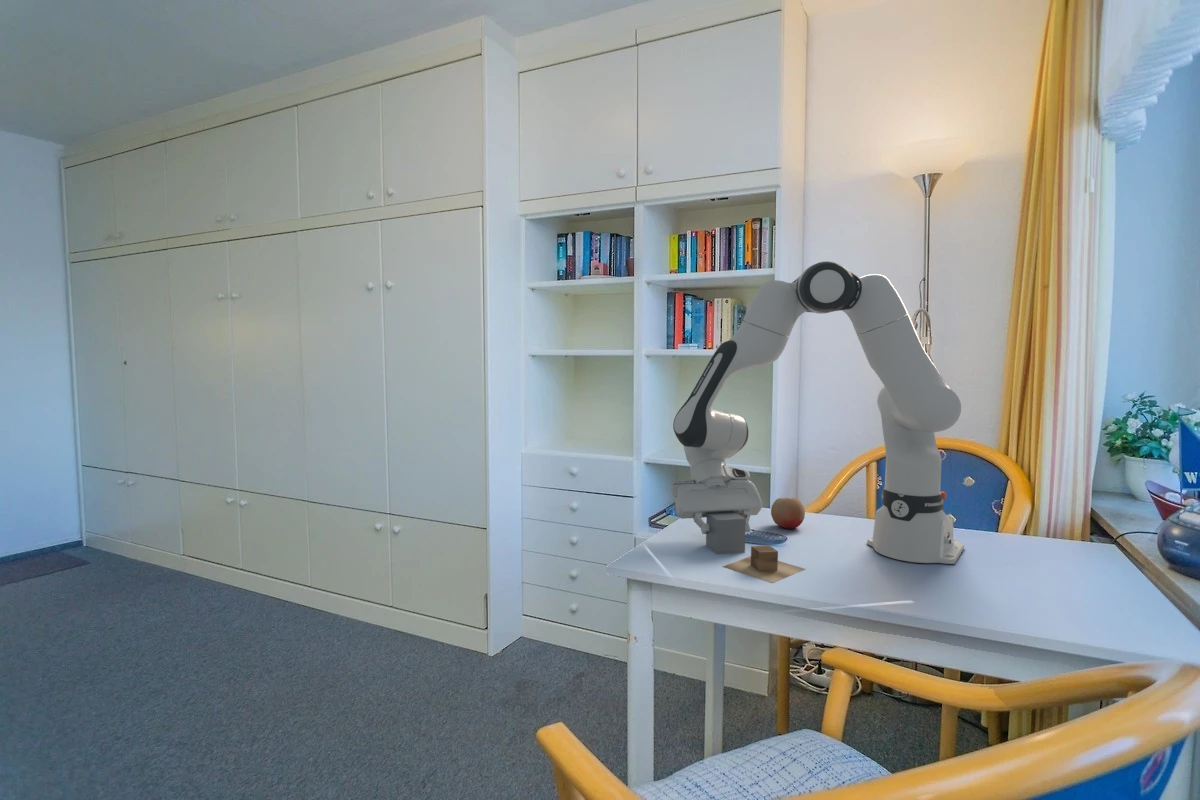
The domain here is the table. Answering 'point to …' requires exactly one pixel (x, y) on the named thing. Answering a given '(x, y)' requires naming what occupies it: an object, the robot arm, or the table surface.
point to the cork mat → (769, 576)
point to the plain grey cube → (726, 532)
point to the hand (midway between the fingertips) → (726, 531)
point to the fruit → (788, 512)
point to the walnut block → (764, 558)
